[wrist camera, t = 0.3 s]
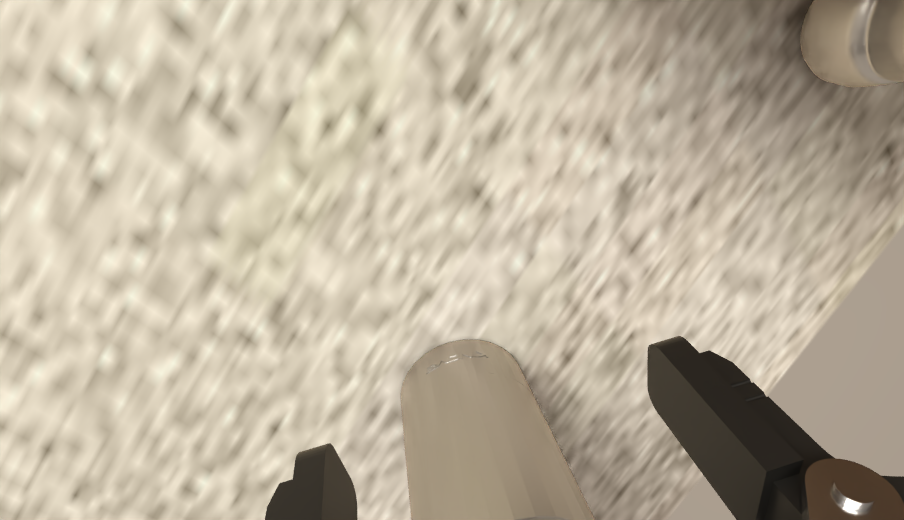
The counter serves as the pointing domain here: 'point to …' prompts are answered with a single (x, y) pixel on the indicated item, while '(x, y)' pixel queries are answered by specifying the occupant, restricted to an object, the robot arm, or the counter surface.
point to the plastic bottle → (855, 41)
